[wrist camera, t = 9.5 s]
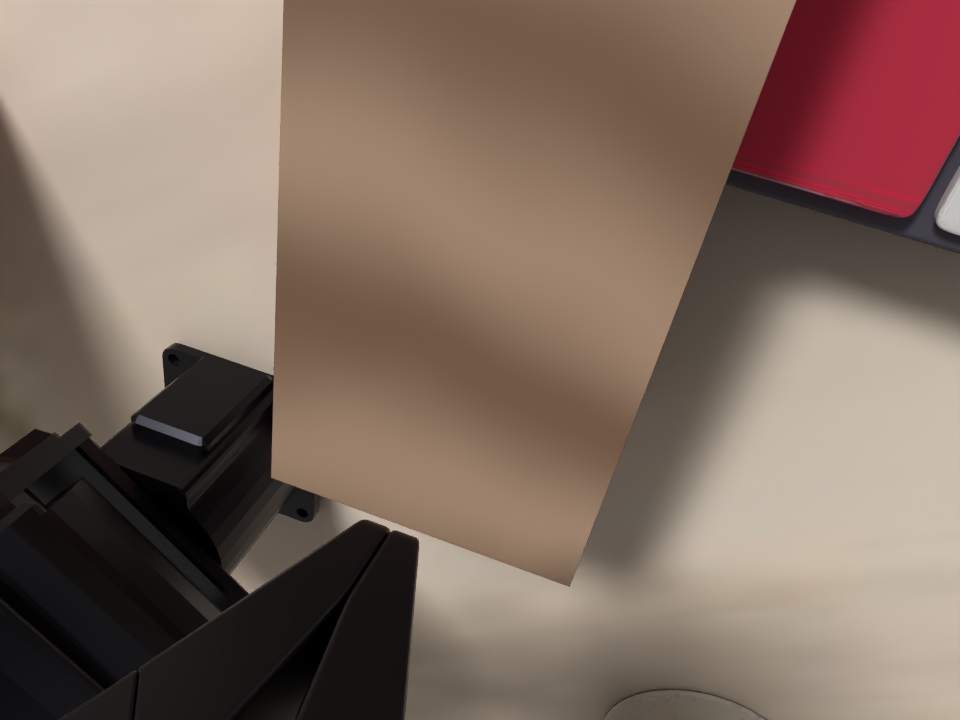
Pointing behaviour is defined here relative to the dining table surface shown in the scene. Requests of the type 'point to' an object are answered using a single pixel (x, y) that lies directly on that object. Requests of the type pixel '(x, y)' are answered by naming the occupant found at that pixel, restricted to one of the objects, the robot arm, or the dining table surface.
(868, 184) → the calculator
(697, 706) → the thermos bottle
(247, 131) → the dining table surface
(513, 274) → the overhang shelf
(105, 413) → the dining table surface
